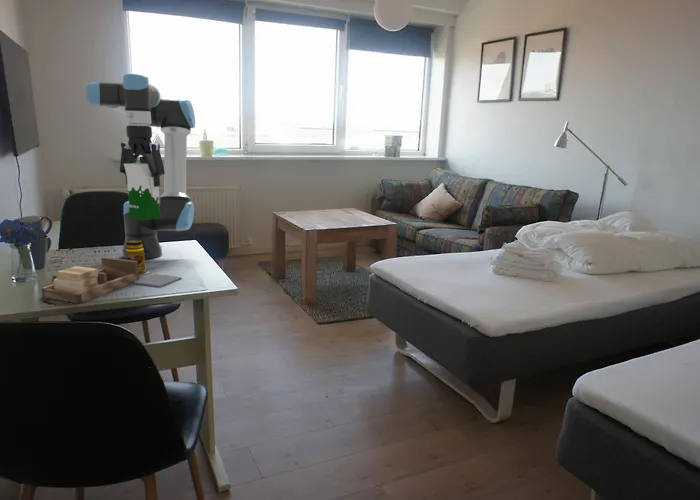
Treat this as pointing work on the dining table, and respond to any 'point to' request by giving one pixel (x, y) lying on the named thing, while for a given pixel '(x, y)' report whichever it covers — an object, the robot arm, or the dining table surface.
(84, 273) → the offcut stack
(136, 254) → the condiment
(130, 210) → the soya milk
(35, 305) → the dining table surface
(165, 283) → the mat
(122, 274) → the tray
